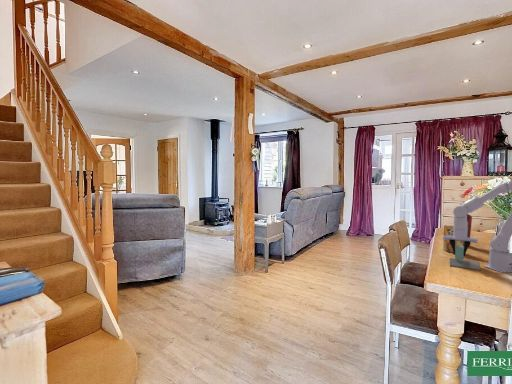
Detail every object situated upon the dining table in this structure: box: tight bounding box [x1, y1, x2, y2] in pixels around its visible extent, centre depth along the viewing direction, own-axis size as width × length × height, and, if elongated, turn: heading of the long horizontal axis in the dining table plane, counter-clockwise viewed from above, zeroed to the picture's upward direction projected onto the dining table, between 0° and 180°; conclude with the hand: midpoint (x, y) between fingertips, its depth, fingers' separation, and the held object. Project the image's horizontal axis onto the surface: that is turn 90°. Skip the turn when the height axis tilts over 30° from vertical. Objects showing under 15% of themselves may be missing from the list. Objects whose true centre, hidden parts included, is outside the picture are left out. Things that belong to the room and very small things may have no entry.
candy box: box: [442, 224, 463, 253], centre depth 167 cm, size 9×4×15 cm, turn 33°
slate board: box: [449, 257, 481, 271], centre depth 144 cm, size 14×12×1 cm
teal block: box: [454, 245, 465, 260], centre depth 148 cm, size 4×4×6 cm
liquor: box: [462, 201, 473, 246], centre depth 179 cm, size 7×7×28 cm
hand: (459, 254), depth 148 cm, fingers closed on teal block, 3 cm apart
